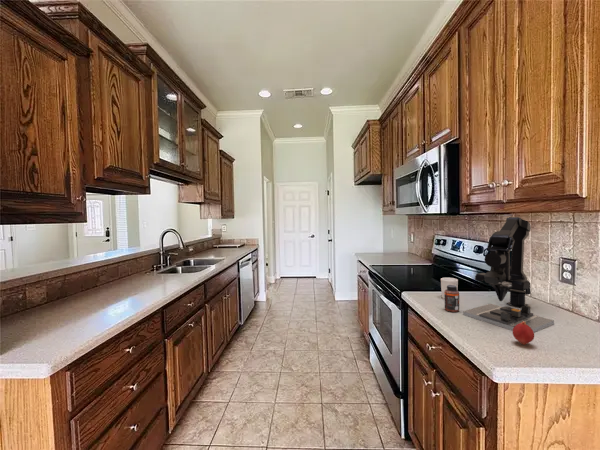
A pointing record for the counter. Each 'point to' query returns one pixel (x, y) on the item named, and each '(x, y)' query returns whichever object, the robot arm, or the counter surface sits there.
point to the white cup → (447, 282)
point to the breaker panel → (530, 323)
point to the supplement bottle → (452, 298)
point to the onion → (523, 333)
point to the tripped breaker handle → (515, 312)
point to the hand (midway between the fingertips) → (500, 300)
